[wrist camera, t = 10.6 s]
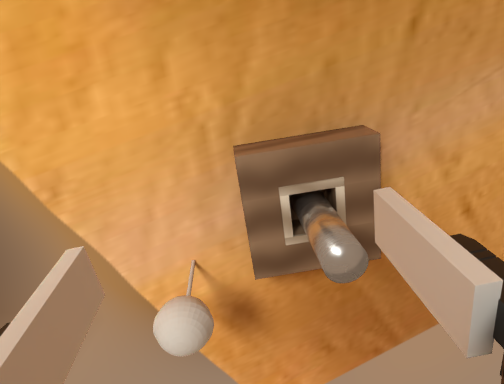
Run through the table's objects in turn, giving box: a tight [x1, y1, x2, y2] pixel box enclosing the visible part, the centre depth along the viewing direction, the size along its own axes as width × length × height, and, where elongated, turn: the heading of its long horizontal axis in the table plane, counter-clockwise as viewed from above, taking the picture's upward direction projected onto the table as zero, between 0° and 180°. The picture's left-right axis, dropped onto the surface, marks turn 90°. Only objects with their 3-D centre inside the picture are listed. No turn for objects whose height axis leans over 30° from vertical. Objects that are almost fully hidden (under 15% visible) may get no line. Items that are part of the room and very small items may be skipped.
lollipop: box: [153, 260, 214, 356], centre depth 40 cm, size 6×6×15 cm
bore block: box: [233, 125, 381, 280], centre depth 42 cm, size 16×16×5 cm
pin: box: [291, 190, 369, 283], centre depth 36 cm, size 4×4×15 cm
